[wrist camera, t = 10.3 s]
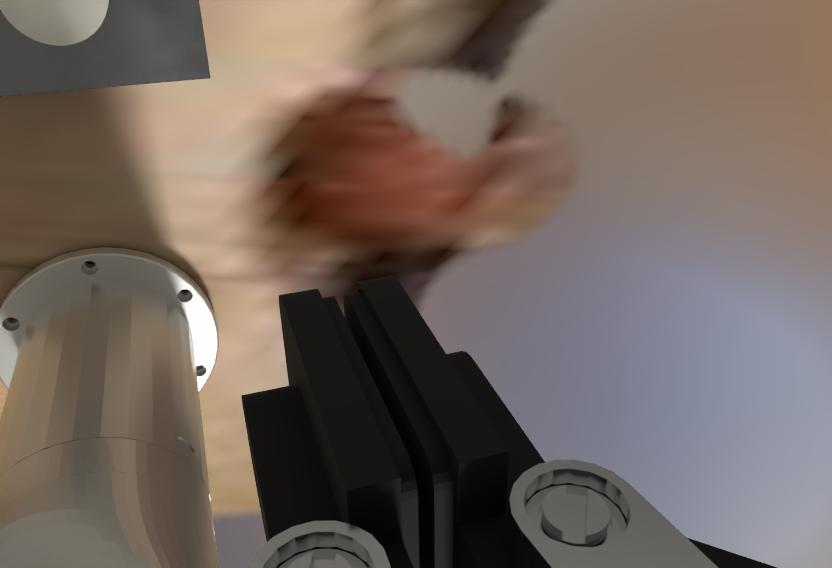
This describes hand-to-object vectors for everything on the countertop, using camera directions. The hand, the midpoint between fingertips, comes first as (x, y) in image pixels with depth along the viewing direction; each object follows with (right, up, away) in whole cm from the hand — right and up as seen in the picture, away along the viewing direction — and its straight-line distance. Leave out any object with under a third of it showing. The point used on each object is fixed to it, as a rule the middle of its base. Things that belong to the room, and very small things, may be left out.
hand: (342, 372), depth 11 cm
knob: (-15, +15, +23) cm, 32 cm away
